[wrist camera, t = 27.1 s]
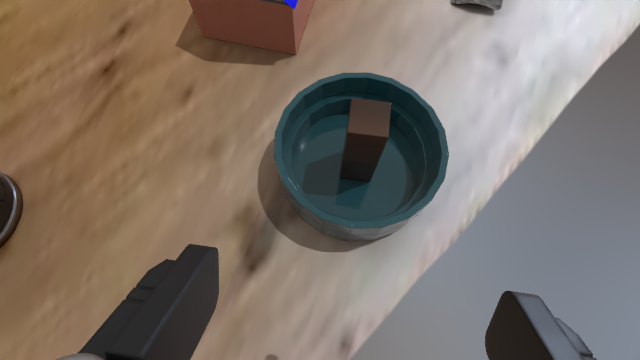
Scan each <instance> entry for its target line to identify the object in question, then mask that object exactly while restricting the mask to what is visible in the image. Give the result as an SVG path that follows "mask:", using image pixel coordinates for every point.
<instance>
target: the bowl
mask: <svg viewBox="0 0 640 360" xmlns="http://www.w3.org/2000/svg"><path fill="white" fill-rule="evenodd" d="M352 98H355V99H364V100H372V101H380V102H388V103H391V112H390V126H389V138H388V140H387V142H386V145H385V147H384V150H383V152H382V155H381V157H380V160H379V162H378V165H377V167H376V169H375V172H374V174H373V177H372V179H371V182H366V181H358V180H351V179H343V178H340V171H341V163H342V156H343V148H344V142H345V136H346V130H347V124H348V117H349V111H350V105H351V99H352ZM448 157H449V152H448V146H447V140H446V135H445V130H444V128H443V126H442V124H441V122H440V121H439V119H438V117H437V115H436V113H435V111H434V110H433V108H432V107H431V106H430V105H429V104H428V103H427V102H426V101H425V100H424V99H423V98H422V97H421V96H420V95H419V94H418V93H417V92H416V91H414V90H412V89H411V88H409V87H407V86H405V85H403V84H402V83H400V82H398V81H396V80H394V79H392V78H388V77H384V76H380V75H376V74H372V73H342V74H338V75H334V76H331V77H327V78H324V79H320V80H318V81H317V82H315V83H314V84H312V85H310V86H309V87H307V88H305V89H304V90H302V91H301V92H299V93H298V94H297V95H296V97H295V98H294V99H293V100H292V101H291V102H290V104H289V105H288V106H287V107H286V108H285V109H284V111H283V114H282V116H281V119H280V121H279V124H278V126H277V129H276V131H275V144H274V158H275V162H276V166H277V169H278V173H279V177H280V180H281V183H282V186H283V189H284V192H285V195H286V198H287V200H288V201H289V203H290V204H291V205H292V207H293V208H294V209H295V211H296V212H297V213H298V215H299V216H300V217H301V218H302V219H303V220H304V221H306V222H307V223H309V224H310V225H312V226H313V227H315V228H316V229H317V230H319V231H320V232H322V233H325V234H328V235H331V236H335V237H338V238H341V239H345V240H374V239H377V238H380V237H382V236H385V235H388V234H391V233H394V232H396V231H398V230H399V229H401V228H402V227H403V226H404V225H406V224H407V223H408V222H409V221H411V220H412V219H413V218H414V217H416V216H417V215H418V214H419V213H420V212H421V211H422V210H423V209H424V208H425V207H426V206H427V205H428V204H429V203H430V202H431V201H432V199H433V197H434V196H435V194H436V192H437V191H438V189H439V187H440V186H441V184H442V183H443V181H444V179H445V174H446V168H447V163H448Z"/></svg>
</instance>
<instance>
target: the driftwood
mask: <svg viewBox="0 0 640 360" xmlns="http://www.w3.org/2000/svg"><path fill="white" fill-rule="evenodd" d="M451 2H452V3H454V4H462V3H475V4H481V5H484V6H487V7H490V8H492V9H496V10H499V9H500V8H501V6H502V0H451Z"/></svg>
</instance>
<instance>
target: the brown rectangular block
mask: <svg viewBox="0 0 640 360" xmlns="http://www.w3.org/2000/svg"><path fill="white" fill-rule="evenodd" d="M390 112H391V103H388V102H380V101H372V100H364V99H355V98H352V99H351V105H350V111H349V117H348V124H347V130H346V136H345V142H344V148H343V156H342V163H341V171H340V178H343V179H351V180H358V181H366V182H371V179H372V177H373V174H374V172H375V169H376V167H377V165H378V162H379V160H380V157H381V155H382V152H383V150H384V147H385V145H386V142H387V140H388V138H389V126H390Z"/></svg>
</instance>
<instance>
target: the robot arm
mask: <svg viewBox="0 0 640 360" xmlns="http://www.w3.org/2000/svg"><path fill="white" fill-rule="evenodd" d="M21 208H22V196H21V192H20V189H19V187H18V186H17V184H16V183H15V182H14V181H13V179H11V178H10V177H9V176H7V175H5V174H3V173H1V172H0V246H1V245H2V244H3V243H4V242H5V241H6V239H7V238H8V237H9V236H10V234H11V233H12V231H13V230H14V228H15V226H16V224H17V222H18V220H19V217H20V213H21ZM218 294H219V262H218V250H217V248H215V247H208V246H201V245H194V244H189V245H188V246H187V247H186V248H185V249H184V250H183V252H182V253H181V254H180V256H179V257H178V258H177V260H176V261H174V260H168V259H166V260H165V261H163V262H162V263H160V264H158V265H157V266H155V267H153V268H152V269H150V270H149V271H148V272H147V273H146V274H145V276H144V277H143V278H142V279H141V280H140V281H139V283H138V284H137V286H136V288H133V290H132V291H131V292H130V293H129V294H128V295H127V297H126V300H123V301H122V302H121V304H120V305H119V306H118V307H117V308H116V309H115V311H114V312H113V313H112V314H111V315H110V316H109V318H108V319H107V320H106V321H105V322H104V323H103V325H102V326H101V327H100V328H99V329H98V330H97V332H96V333H95V334H94V335H93V336H92V337H91V339H90V340H89V341H88V342H87V343H86V344H85V346H84V347H83V348H82V349H81V350H80V351H79V352H78V353H77V354H72V355H68V356H64V357H62V358H59V359H57V360H190V359H191V357H192V355H193V353H194V351H195V349H196V347H197V345H198V343H199V341H200V339H201V337H202V335H203V333H204V331H205V329H206V327H207V325H208V323H209V321H210V319H211V317H212V315H213V313H214V310H215V307H216V304H217V300H218ZM485 347H486V352H487V355H488V358H489V360H597V359H596V358H593V356H592V355H593V354H592V353H591V351H590V350H589V349H588V347H587V346H586V345H585V343H584V342H583V341H582V339H581V338H580V337H579V335H578V334H576V333H575V332H574V331H573V330H572V329H571V328H569V327H568V326H567V325H566V324H565V323H564V322H562V321H561V320H560V319H559V318H555V317H554V316H553V315H552V313H551V312H550V310H549V309H548V308H547V306H546V305H545V303H544V302H543V300H542V299H541V298H540V297H539V296H537V295H533V294H525V293H519V292H512V291H505V292H504V293H503V294H502V296H501V298H500V300H499V302H498V305H497V307H496V310H495V312H494V314H493V317H492V319H491V321H490V324H489V326H488V329H487V331H486V336H485Z"/></svg>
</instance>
